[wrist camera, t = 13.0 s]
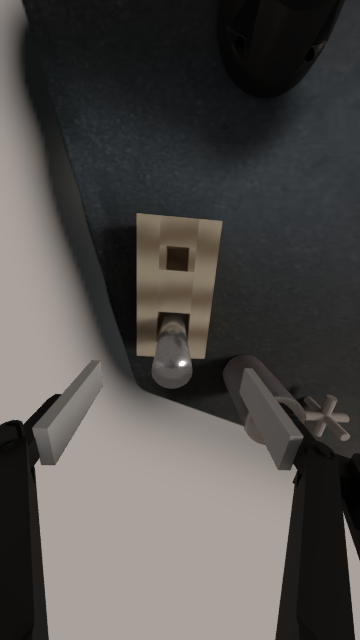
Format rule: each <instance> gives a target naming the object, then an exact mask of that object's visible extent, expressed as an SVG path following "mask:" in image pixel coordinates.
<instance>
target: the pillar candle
mask: <svg viewBox="0 0 360 640" xmlns="http://www.w3.org/2000/svg"><path fill="white" fill-rule="evenodd" d="M244 368H253V370H254V371H255V372H256V374H257V375H258V376H259V378H260V379H261V380H262V382H263V383H264V384H265V386H266V387H267V388H268V390H269V391H270V392H271V394H272V395H273V396H274V398H275V399H276V400H277V402H278V403H284V404H285V405H287V406H288V407H289V408H290V409H291V410H292V411H293V412H294V414H295V416H297V417H298V419H299V420H300V421H301V422H302V424H304V422H305V412H304V409H303V408H302V406H301V405H300V404H299V403H298V402H297V401H296V399H295V398H294V397H293V396H292V395H291V394H290V393H289V392H288V391H287V390H286V389H285V387H284V386H283V385H282V384H281V383H280V382H279V381H278V380H277V379H276V378H275V377H274V375H273V374H272V373H271V372H270V371H269V370H268V369H267V368H266V367H265V366H264V365H263V364H262V362H261V361H260V360H259V359H257V358H256V357H254V356H251V355H239V356H236V357H234V358H232V359H231V360H230V361H229V362H228V363H227V365H226V366H225V368H224V370H223V379H224V382H225V385H226V387H227V389H228V391H229V394H230V396H231V399H232V401H233V403H234V405H235V407H236V410H237V412H238V414H239V416H240V419H241V421H242V423H243V425H244V429H245V431H246V432H247V434H248V435H249V436H250V438H251V439H252V440H254V441H256V442H257V443H260V444H264V445H265V443H264V441H263V439H262V437H261V435H260V433H259V431H258V429H257V427H256V425H255V423H254V421H253V419H252V417H251V415H250V413H249V411H248V409H247V407H246V405H245V403H244V401H243V399H242V397H241V395H240V393H239V391H240V387H241V382H242V377H243V373H244Z"/></svg>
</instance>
